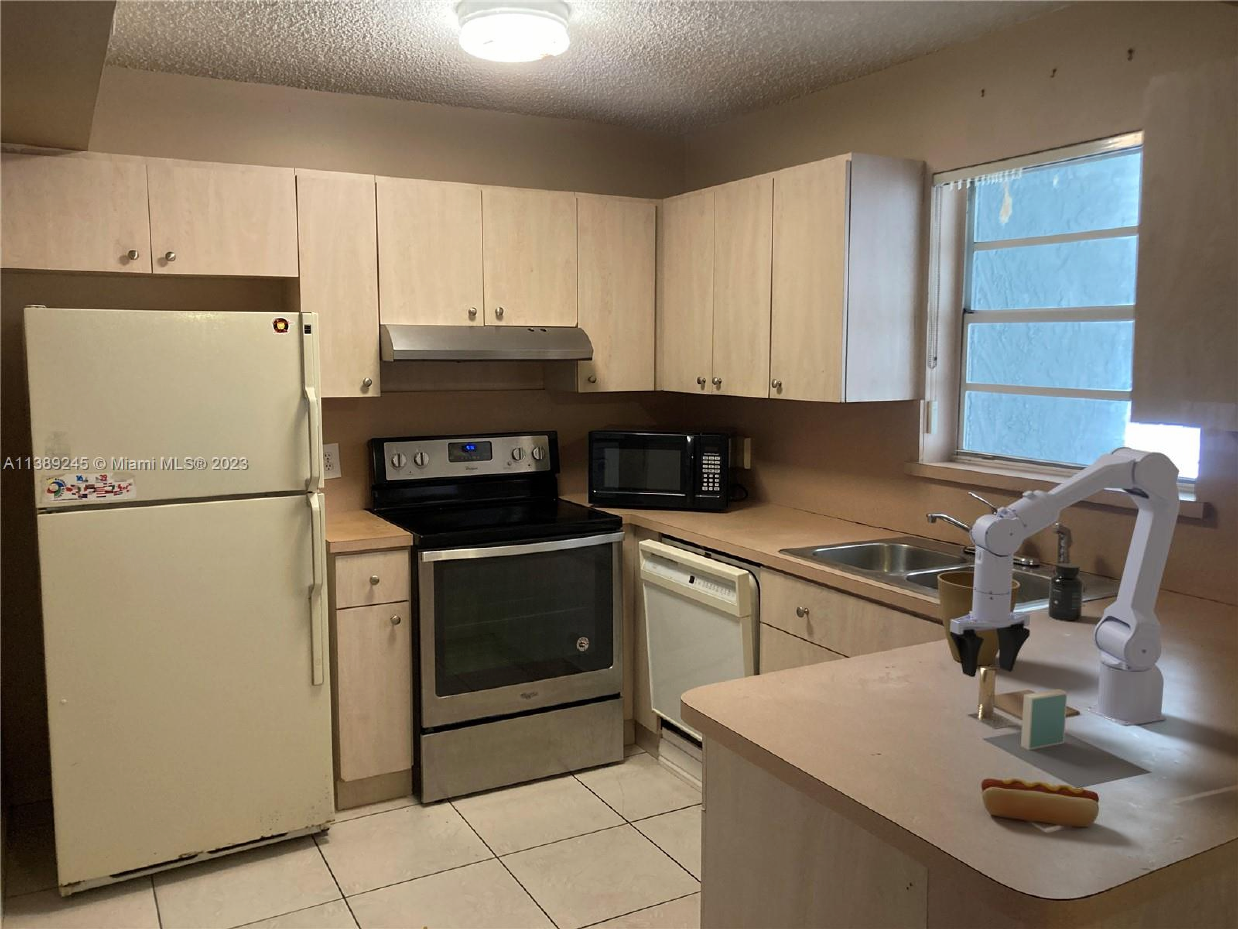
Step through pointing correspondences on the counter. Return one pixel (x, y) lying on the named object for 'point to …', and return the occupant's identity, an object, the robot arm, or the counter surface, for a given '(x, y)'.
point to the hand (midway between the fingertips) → (987, 672)
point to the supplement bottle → (1066, 593)
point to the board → (1019, 704)
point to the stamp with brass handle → (989, 701)
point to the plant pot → (967, 611)
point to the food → (1040, 802)
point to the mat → (1070, 760)
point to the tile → (1043, 719)
